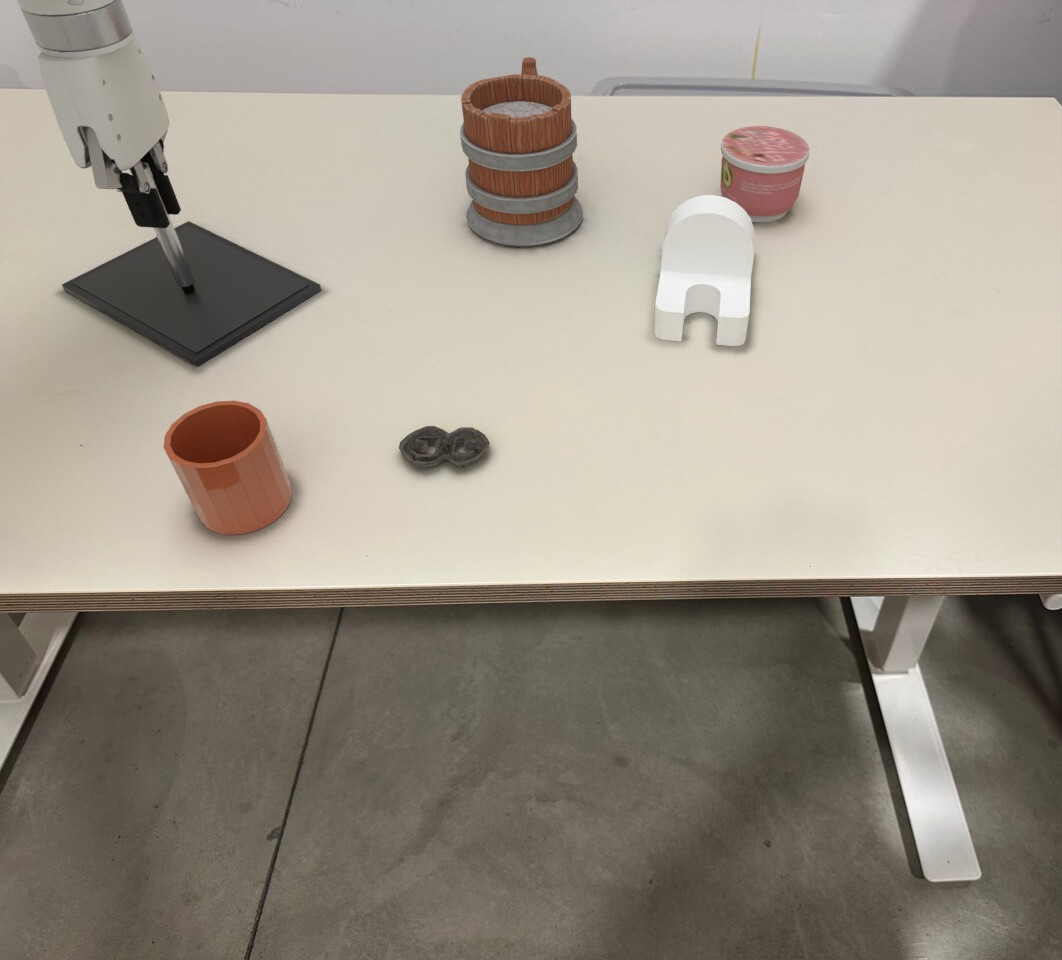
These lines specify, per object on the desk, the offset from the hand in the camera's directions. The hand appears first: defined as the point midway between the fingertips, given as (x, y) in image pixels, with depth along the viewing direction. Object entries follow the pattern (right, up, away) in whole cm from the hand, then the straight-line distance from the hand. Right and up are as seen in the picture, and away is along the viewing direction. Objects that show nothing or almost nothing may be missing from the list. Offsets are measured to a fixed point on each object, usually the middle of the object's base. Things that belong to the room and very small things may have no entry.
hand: (159, 218), depth 88 cm
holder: (+14, -28, -13) cm, 34 cm away
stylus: (0, -6, +6) cm, 9 cm away
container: (+62, +8, +23) cm, 67 cm away
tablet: (-1, -6, +8) cm, 10 cm away
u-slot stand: (+55, -5, +10) cm, 56 cm away
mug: (+34, +8, +22) cm, 41 cm away
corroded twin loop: (+30, -24, -8) cm, 39 cm away
